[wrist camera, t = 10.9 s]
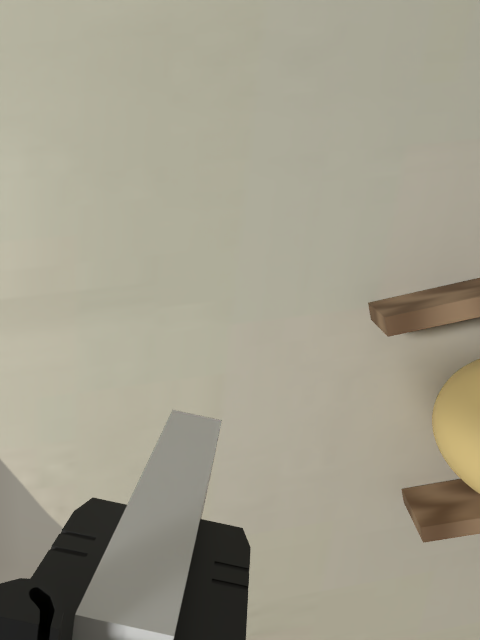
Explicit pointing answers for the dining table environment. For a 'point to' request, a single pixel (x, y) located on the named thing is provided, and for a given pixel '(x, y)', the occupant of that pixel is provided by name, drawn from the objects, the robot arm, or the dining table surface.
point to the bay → (450, 496)
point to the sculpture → (460, 423)
